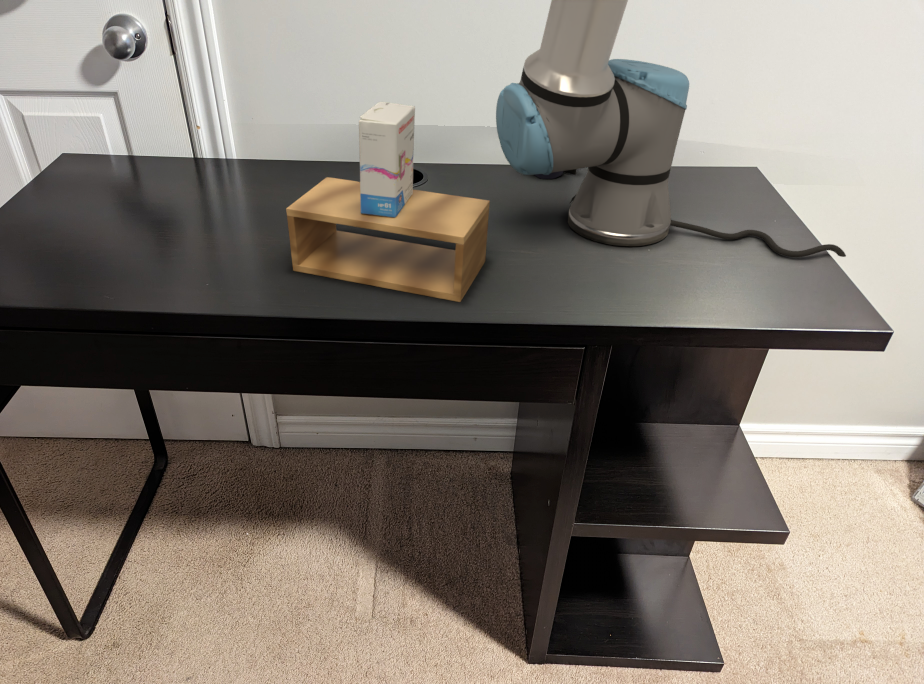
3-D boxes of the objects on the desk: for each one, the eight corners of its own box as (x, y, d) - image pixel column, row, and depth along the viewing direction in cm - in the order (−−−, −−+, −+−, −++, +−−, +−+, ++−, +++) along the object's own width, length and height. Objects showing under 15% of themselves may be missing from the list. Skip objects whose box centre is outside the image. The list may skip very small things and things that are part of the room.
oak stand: (485, 261, 96) (490, 200, 90) (460, 302, 87) (463, 237, 81) (331, 235, 102) (326, 176, 97) (293, 270, 93) (285, 208, 88)
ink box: (397, 219, 85) (396, 122, 78) (359, 214, 86) (355, 118, 79) (414, 194, 92) (415, 102, 85) (379, 190, 93) (377, 99, 86)
